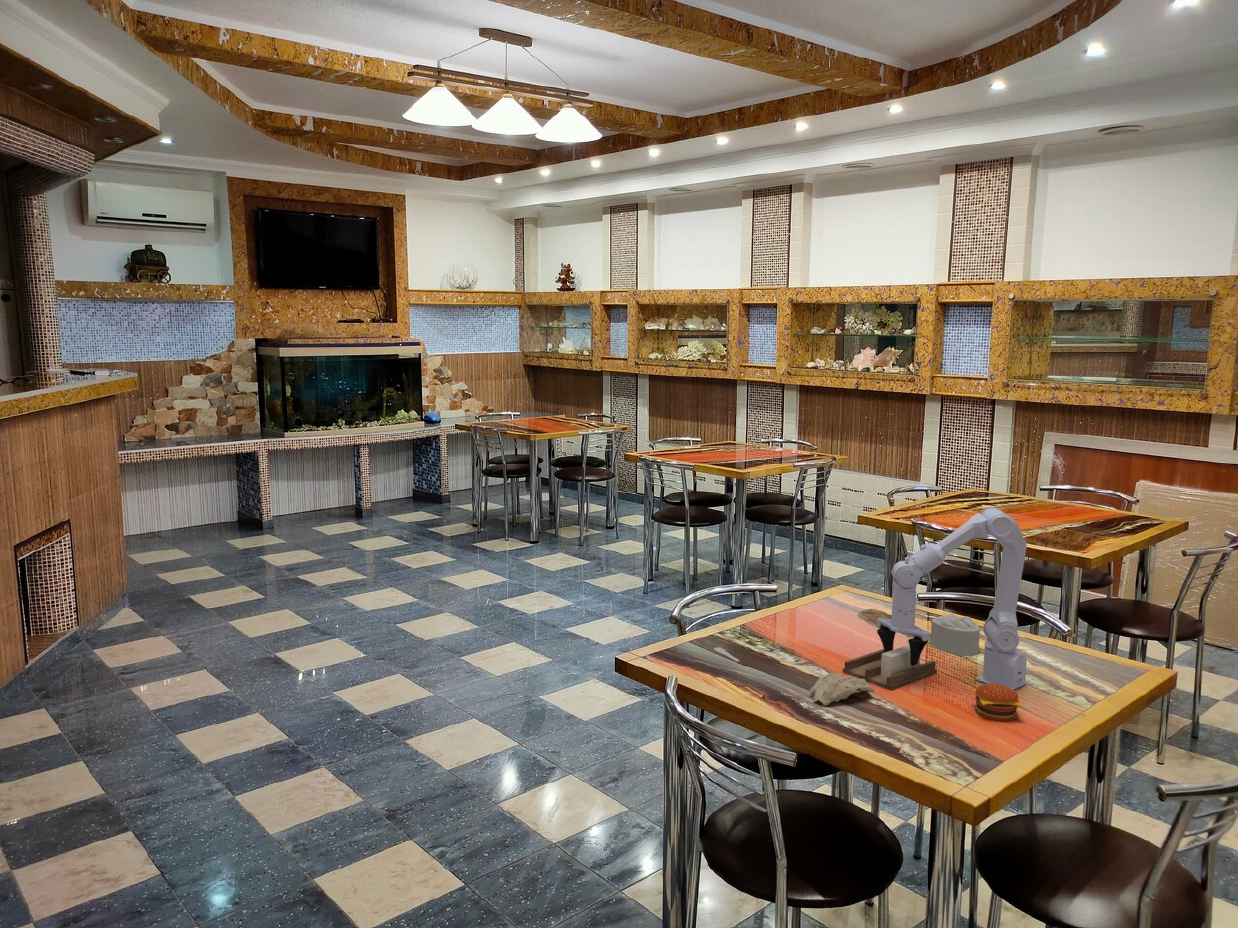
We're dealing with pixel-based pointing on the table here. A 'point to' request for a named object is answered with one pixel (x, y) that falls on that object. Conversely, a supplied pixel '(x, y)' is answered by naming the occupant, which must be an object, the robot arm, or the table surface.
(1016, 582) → the robot arm
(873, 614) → the fish fossil
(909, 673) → the rack
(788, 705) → the table surface
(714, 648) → the butter knife
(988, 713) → the hamburger
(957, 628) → the lumpy-topped squat cylinder
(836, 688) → the coral
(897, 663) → the white rectangular block
